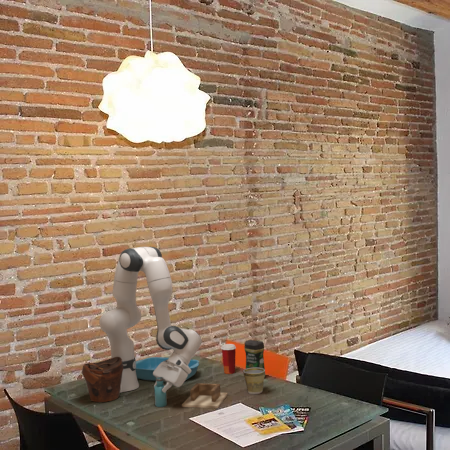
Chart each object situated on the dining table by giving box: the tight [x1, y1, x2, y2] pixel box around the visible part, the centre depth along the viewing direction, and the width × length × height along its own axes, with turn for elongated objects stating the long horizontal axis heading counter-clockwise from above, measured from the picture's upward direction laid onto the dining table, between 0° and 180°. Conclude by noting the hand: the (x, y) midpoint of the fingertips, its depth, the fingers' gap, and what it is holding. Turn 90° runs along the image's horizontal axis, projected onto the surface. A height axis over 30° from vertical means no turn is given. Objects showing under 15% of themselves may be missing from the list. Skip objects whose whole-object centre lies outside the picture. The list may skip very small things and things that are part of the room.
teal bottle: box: [153, 377, 168, 408], centre depth 269 cm, size 5×5×12 cm
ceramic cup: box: [242, 368, 266, 395], centre depth 283 cm, size 13×10×10 cm
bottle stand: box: [181, 382, 229, 409], centre depth 272 cm, size 16×18×6 cm
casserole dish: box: [136, 356, 200, 383], centre depth 314 cm, size 37×22×7 cm, turn 66°
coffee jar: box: [243, 339, 266, 378], centre depth 304 cm, size 10×8×19 cm
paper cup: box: [220, 343, 237, 375], centre depth 315 cm, size 8×8×14 cm
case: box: [81, 357, 123, 403], centre depth 282 cm, size 18×20×18 cm
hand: (159, 389), depth 269 cm, fingers closed on teal bottle, 5 cm apart
